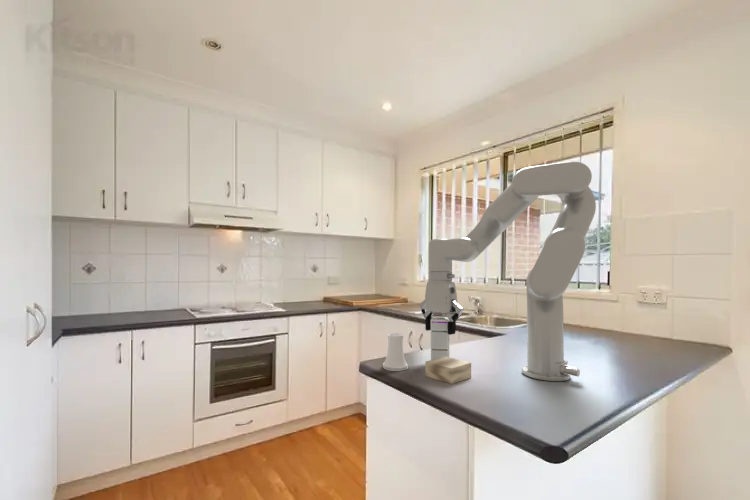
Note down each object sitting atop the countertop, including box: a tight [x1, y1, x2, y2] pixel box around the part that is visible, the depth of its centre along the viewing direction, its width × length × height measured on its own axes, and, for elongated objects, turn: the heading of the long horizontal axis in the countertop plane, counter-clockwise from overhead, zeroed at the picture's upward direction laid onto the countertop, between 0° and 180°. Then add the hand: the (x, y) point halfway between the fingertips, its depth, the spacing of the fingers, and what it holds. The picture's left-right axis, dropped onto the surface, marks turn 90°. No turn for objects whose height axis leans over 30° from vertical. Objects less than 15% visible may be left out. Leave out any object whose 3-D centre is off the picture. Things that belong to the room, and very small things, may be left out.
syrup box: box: [430, 316, 451, 360], centre depth 115 cm, size 6×6×14 cm
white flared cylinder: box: [382, 332, 409, 372], centre depth 110 cm, size 8×8×10 cm
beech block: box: [424, 357, 472, 385], centre depth 102 cm, size 9×9×4 cm
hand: (440, 331), depth 115 cm, fingers open, 8 cm apart
